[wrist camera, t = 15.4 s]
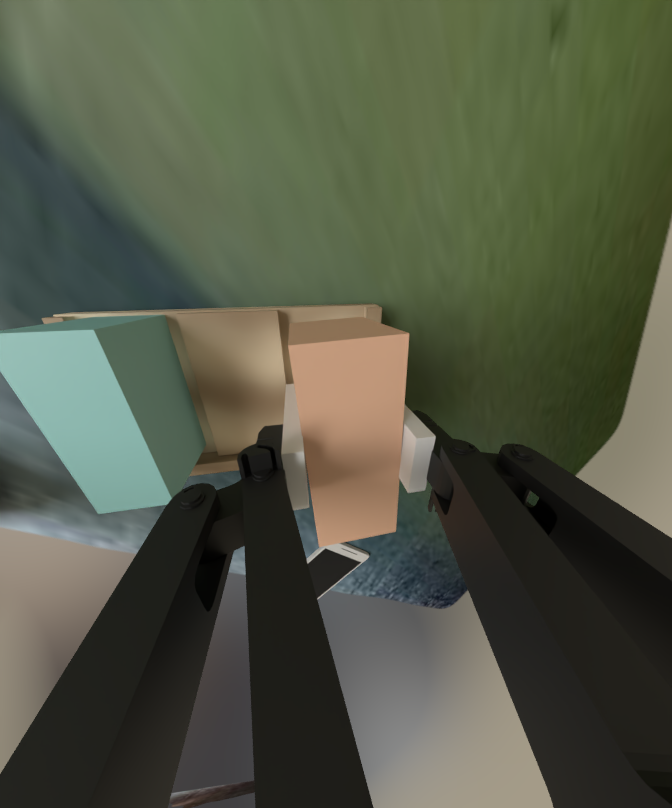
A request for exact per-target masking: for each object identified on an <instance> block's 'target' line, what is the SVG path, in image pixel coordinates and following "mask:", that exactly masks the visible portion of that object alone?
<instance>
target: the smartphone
mask: <svg viewBox="0 0 672 808" xmlns="http://www.w3.org/2000/svg"><path fill="white" fill-rule="evenodd" d="M368 558H369V554H368V552H365V551H363V550H361V549H358V548H356V547H354V546H351V545H349V544H347V543H344V542H343V543H338V544H333V545H328V546H323V547H319V548H318V549H317V550H316V551H315V552H314V553H313V554H312V555H311V556H309V557H308V558H307V559H306V560H307V563H308V567H309V571H310V575H311V578H312V582H313V586H314V589H315V593H316V597H317V599H318V598H320V597H321V596H322V595H323V594H324V593H326V592H327V591H328V590H330V589H331V588H332V587H333V586H334V585H336V584H337V583H338V582H339V581H341V580H342V579H343V578H344V577H346V576H347V575H348V574H349V573H350V572H352V571H353V570H354V569H355V568H357V567H358V566H359V565H360V564H362V563H363V562H364V561H365V560H367V559H368Z"/></svg>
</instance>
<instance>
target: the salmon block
mask: <svg viewBox="0 0 672 808" xmlns="http://www.w3.org/2000/svg"><path fill="white" fill-rule="evenodd" d="M408 346H409V333H407V332H404V331H401V330H398V329H396V328H393V327H390V326H387V325H384V324H381V323H378V322H376V321H373V320H370V319H367V318H364V317H353V318H341V319H330V320H319V321H308V322H297V323H290V328H289V340H288V348H289V355H290V361H291V368H292V374H293V381H294V387H295V394H296V400H297V407H298V413H299V420H300V426H301V432H302V436H303V444H304V452H305V458H306V465H307V471H308V478H309V484H310V491H311V497H312V504H313V510H314V516H315V523H316V529H317V536H318V542H319V547H323V546H328V545H333V544H338V543H343V542H347V541H352V540H357V539H362V538H367V537H372V536H377V535H381V534H386V533H391V532H396V521H397V507H398V492H399V471H400V463H401V448H402V434H403V419H404V404H405V390H406V375H407V360H408Z"/></svg>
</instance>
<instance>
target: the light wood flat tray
mask: <svg viewBox="0 0 672 808" xmlns="http://www.w3.org/2000/svg"><path fill="white" fill-rule="evenodd" d="M164 314H165V317H166V320H167V323H168V327H169V330H170V333H171V336H172V339H173V342H174V345H175V348H176V351H177V354H178V358H179V361H180V364H181V367H182V370H183V373H184V376H185V379H186V382H187V385H188V388H189V392H190V395H191V398H192V401H193V404H194V407H195V410H196V413H197V416H198V419H199V422H200V426H201V429H202V432H203V435H204V438H205V441H206V446H205V448H204V450H203V452H202V453H201V455H200V457H199V459H198V461H197V463H196V464H195V466H194V468H193V470H192V472H191V474H190V475H189V476H194V475H202V474H211V473H219V472H227V471H235V470H239V466H238V462H237V457H238V454H239V453H240V452H241V451H242V450H243V449H245V448H247V447H248V446H250V445H253V444H256V442H257V438H258V433H259V432H260V430H261V429H262V428H263V427H264V426H270V425H280V424H283V421H284V406H285V392H286V384H294V381H293V374H292V368H291V361H290V355H289V348H288V340H289V328H290V323H297V322H308V321H319V320H330V319H341V318H353V317H364V318H367V319H370V320H373V321H376V322H378V323H381V315H382V307H379V306H378V305H376V304H341V305H307V306H274V307H240V308H207V309H173V310H139V311H106V312H74V313H65V314H56V315H54V317H47V318H42V320H43V322H44V324H49V323H55V322H62V321H69V320H76V319H82V318H89V317H105V316H135V315H164ZM305 459H306V458H305Z"/></svg>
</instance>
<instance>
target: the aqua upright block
mask: <svg viewBox="0 0 672 808" xmlns="http://www.w3.org/2000/svg"><path fill="white" fill-rule="evenodd" d="M0 371H1V373H2V374H3V376H4V377H5V379H6V380H7V382H8V383H9V385H10V386H11V388H12V389H13V390H14V392H15V393H16V395H17V396H18V398H19V399H20V401H21V402H22V404H23V405H24V406H25V408H26V409H27V411H28V412H29V414H30V415H31V417H32V418H33V420H34V421H35V422H36V424H37V425H38V427H39V428H40V430H41V431H42V433H43V434H44V436H45V437H46V439H47V440H48V441H49V443H50V444H51V446H52V447H53V449H54V450H55V452H56V453H57V455H58V456H59V457H60V459H61V460H62V462H63V463H64V465H65V466H66V468H67V469H68V471H69V472H70V474H71V475H72V476H73V478H74V479H75V481H76V482H77V484H78V485H79V487H80V488H81V490H82V491H83V492H84V494H85V495H86V497H87V498H88V500H89V501H90V503H91V504H92V506H93V507H94V508H95V510H96V511H97V513H98V514H103V513H110V512H117V511H125V510H132V509H139V508H146V507H154V506H161V505H167V504H168V503H169V501H170V500H171V499H172V498H173V497H174V496H175V495H176V494H177V493H179V492H180V491H181V490H182V488H183V486H184V485H185V483H186V481H187V479H188V477H189V475H190V474H191V472H192V470H193V468H194V466H195V464H196V463H197V461H198V459H199V457H200V455H201V453H202V452H203V450H204V448H205V446H206V441H205V438H204V435H203V432H202V429H201V426H200V422H199V419H198V416H197V413H196V410H195V407H194V404H193V401H192V398H191V395H190V392H189V388H188V385H187V382H186V379H185V376H184V373H183V370H182V367H181V364H180V361H179V358H178V354H177V351H176V348H175V345H174V342H173V339H172V336H171V333H170V330H169V327H168V323H167V320H166V317H165V314H164V315H135V316H105V317H89V318H82V319H76V320H69V321H62V322H55V323H49V324H42V325H35V326H29V327H22V328H15V329H8V330H2V331H0Z"/></svg>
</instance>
